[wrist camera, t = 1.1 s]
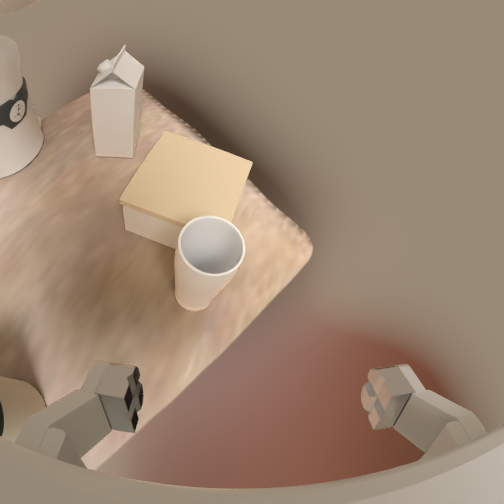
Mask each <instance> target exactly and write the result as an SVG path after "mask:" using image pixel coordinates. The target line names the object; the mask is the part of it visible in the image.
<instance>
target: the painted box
mask: <svg viewBox="0 0 504 504" xmlns="http://www.w3.org/2000/svg"><path fill="white" fill-rule="evenodd" d="M252 163H253V162H251V161H248V160H246V159H243V158H241V157H238V156H235V155H233V154H230V153H228V152H225V151H222V150H220V149H217V148H214V147H212V146H209V145H206V144H203V143H200V142H198V141H195V140H192V139H189V138H186V137H183V136H180V135H177V134H174V133H171V132H168V131H165V132H164V133H163V134H162V136H161V137H160V138H159V140H158V141H157V143H156V144H155V145H154V147H153V148H152V150H151V151H150V153H149V154H148V155H147V157H146V158H145V160H144V161H143V163H142V164H141V166H140V167H139V169H138V170H137V172H136V173H135V175H134V176H133V178H132V179H131V181H130V182H129V184H128V186H127V187H126V189H125V190H124V192H123V193H122V195H121V197H120V198H119V204H121V205H123V214H124V223H125V230H127V231H130V232H132V233H135V234H137V235H140V236H143V237H145V238H148V239H150V240H153V241H155V242H158V243H160V244H163V245H166V246H168V247H171V248H173V249H176V245H177V241H178V237H179V234H180V232H181V230H182V228H183V227H184V226H185V225H186V224H187V223H188V222H189V221H191V220H192V219H194V218H197V217H200V216H206V215H212V216H218V217H221V218H224V219H226V220H228V221H229V222H231V221H232V218H233V215H234V212H235V210H236V207H237V204H238V201H239V199H240V196H241V193H242V190H243V188H244V185H245V182H246V180H247V177H248V174H249V171H250V169H251V166H252Z"/></svg>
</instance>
